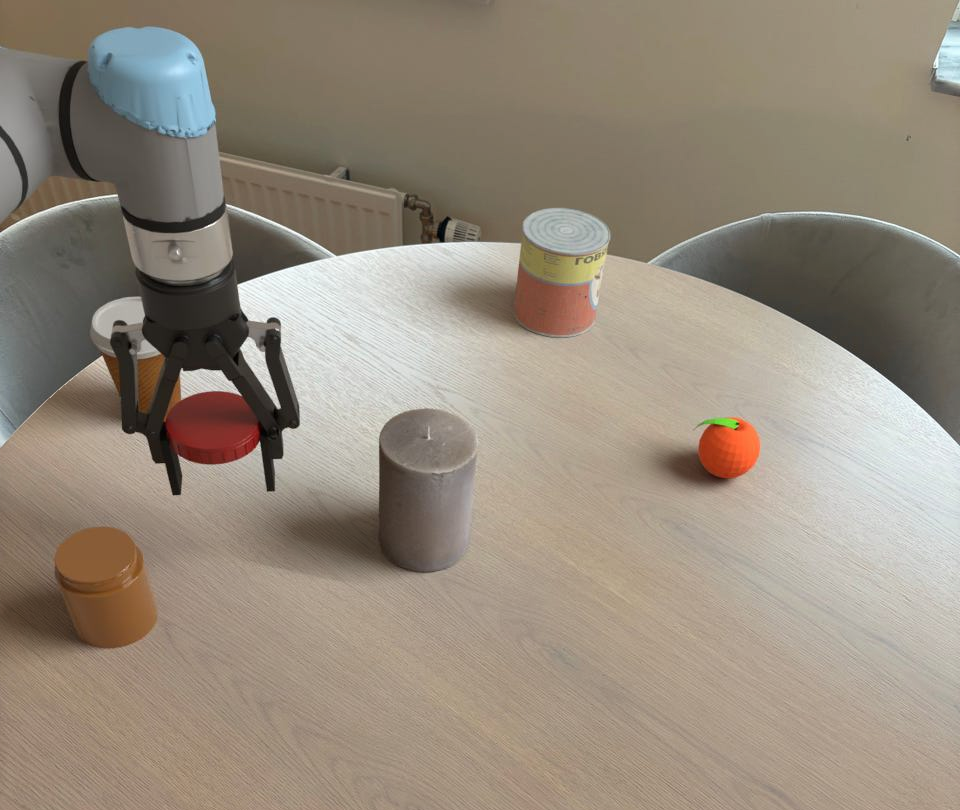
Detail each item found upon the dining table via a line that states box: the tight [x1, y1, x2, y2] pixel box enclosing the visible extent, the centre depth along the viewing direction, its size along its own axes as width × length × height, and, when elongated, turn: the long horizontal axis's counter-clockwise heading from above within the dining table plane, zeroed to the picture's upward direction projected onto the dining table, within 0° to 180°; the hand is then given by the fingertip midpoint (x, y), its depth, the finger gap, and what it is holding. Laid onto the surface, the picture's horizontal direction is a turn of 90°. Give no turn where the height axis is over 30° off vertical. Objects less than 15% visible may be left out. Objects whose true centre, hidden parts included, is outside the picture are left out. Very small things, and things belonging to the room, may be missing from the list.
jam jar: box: [53, 526, 159, 649], centre depth 90 cm, size 8×8×10 cm
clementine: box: [692, 416, 761, 479], centre depth 113 cm, size 8×7×7 cm
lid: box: [166, 390, 262, 466], centre depth 88 cm, size 8×8×2 cm
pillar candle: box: [378, 408, 479, 573], centre depth 99 cm, size 10×10×15 cm
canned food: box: [512, 207, 611, 339], centre depth 129 cm, size 11×11×12 cm
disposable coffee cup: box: [89, 296, 182, 421], centre depth 111 cm, size 10×10×12 cm
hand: (224, 483), depth 93 cm, fingers closed on lid, 8 cm apart
